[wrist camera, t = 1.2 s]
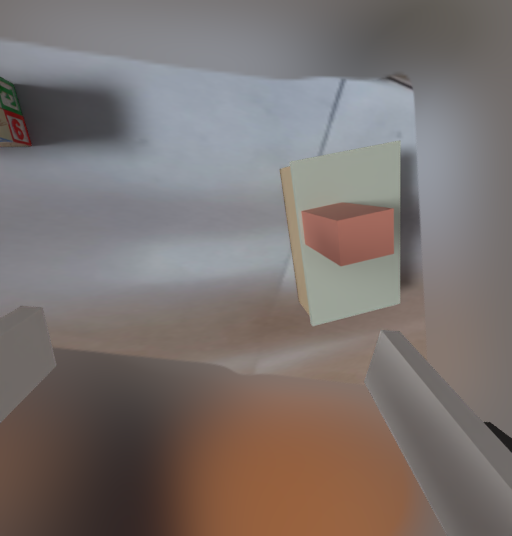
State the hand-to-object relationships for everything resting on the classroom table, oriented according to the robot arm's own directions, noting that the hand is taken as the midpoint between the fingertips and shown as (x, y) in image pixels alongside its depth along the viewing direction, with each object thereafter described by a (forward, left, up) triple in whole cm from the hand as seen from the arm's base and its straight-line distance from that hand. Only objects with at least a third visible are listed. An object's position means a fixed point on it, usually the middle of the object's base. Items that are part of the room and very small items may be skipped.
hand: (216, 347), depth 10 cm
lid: (+3, +17, -20) cm, 26 cm away
